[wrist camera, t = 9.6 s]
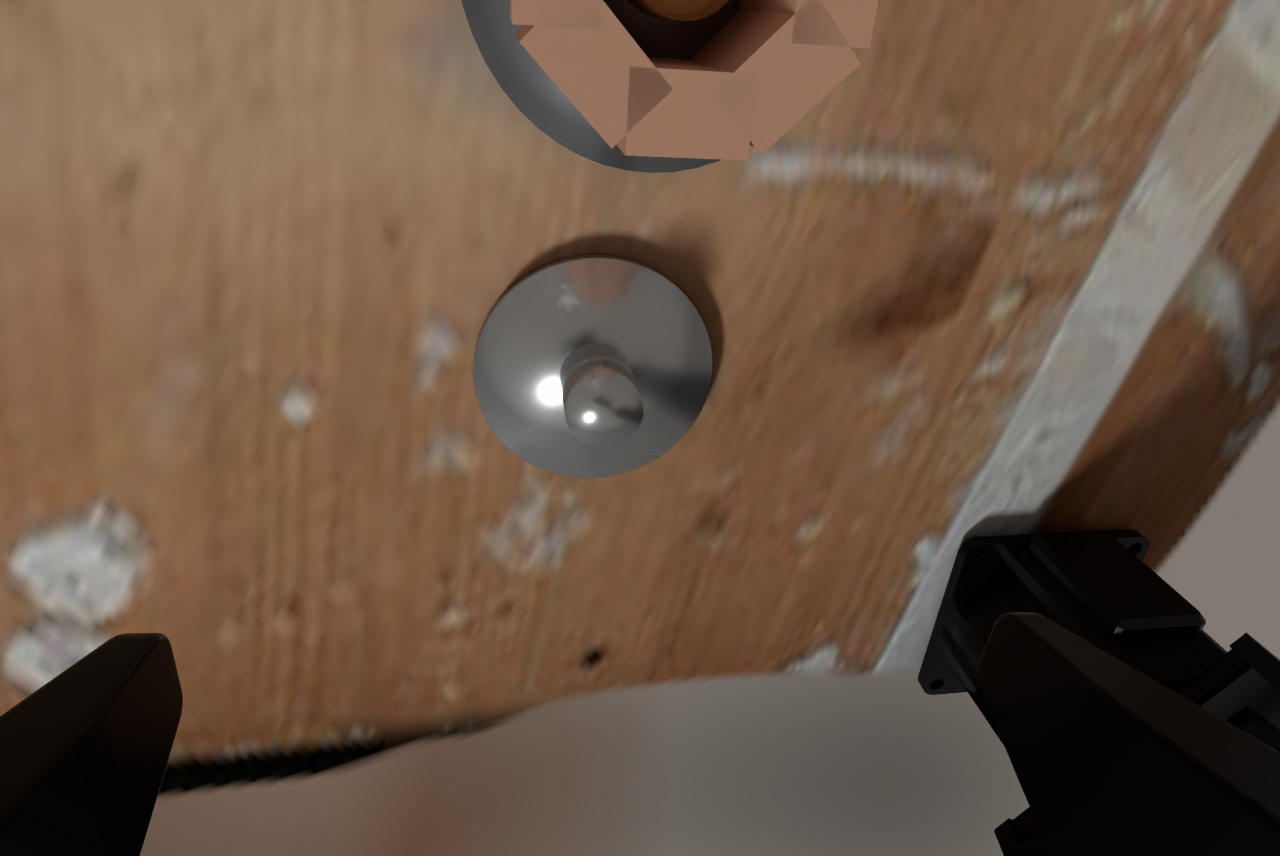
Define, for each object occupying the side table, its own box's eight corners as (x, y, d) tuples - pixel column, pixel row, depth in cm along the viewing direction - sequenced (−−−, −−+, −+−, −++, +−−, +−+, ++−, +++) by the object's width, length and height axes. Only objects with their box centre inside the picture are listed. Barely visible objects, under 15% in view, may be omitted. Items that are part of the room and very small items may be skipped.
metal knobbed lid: (697, 466, 22) (717, 516, 20) (478, 473, 21) (476, 525, 19) (720, 255, 19) (748, 287, 17) (468, 251, 18) (464, 284, 16)
